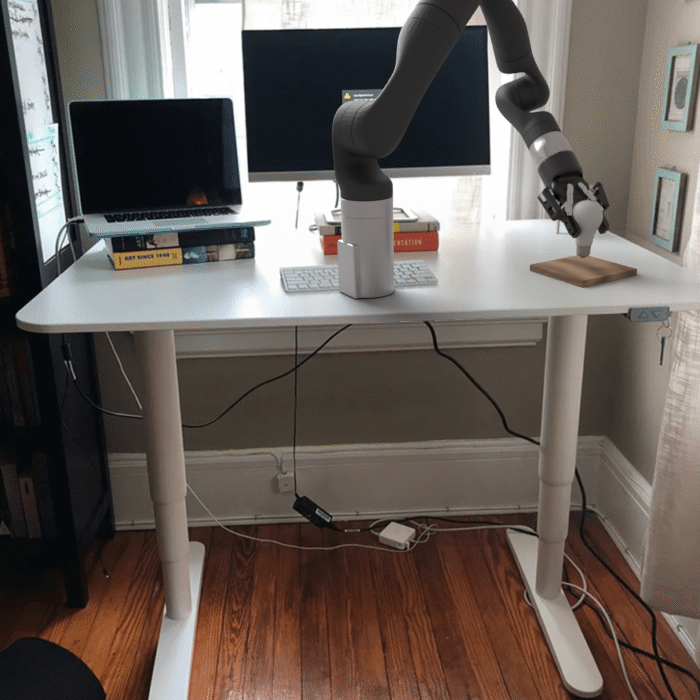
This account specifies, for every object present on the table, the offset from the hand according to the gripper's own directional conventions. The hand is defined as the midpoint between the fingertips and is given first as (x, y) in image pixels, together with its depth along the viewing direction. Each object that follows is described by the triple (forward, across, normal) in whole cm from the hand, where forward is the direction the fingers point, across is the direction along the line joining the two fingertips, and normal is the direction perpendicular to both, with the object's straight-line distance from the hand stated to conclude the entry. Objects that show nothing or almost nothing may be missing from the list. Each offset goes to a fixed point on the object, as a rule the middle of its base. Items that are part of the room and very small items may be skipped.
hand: (591, 233), depth 149 cm
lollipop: (-16, +17, +28) cm, 37 cm away
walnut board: (+5, 0, +7) cm, 8 cm away
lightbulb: (+3, 0, +5) cm, 6 cm away
